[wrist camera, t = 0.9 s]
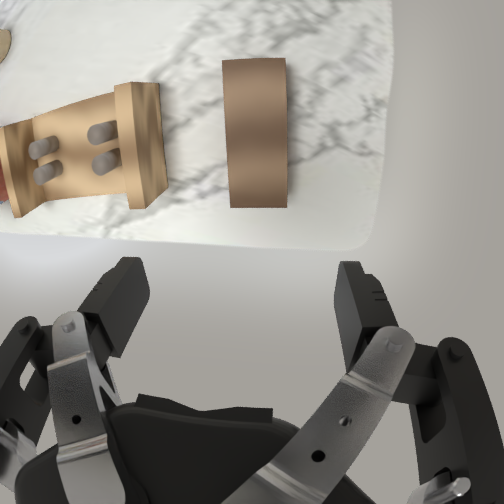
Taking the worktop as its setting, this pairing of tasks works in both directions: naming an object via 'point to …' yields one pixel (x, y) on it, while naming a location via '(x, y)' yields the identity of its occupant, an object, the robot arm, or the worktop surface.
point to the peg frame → (88, 150)
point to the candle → (4, 43)
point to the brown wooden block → (256, 131)
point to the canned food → (2, 186)
